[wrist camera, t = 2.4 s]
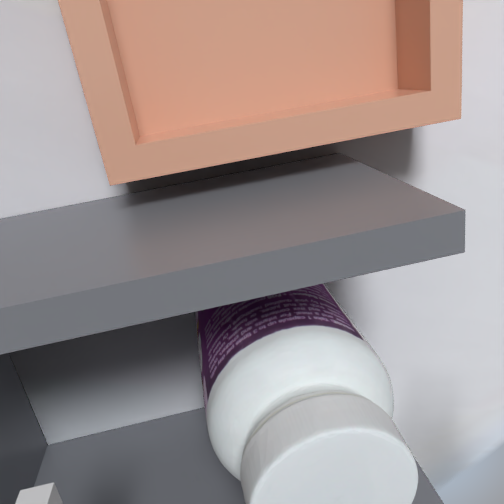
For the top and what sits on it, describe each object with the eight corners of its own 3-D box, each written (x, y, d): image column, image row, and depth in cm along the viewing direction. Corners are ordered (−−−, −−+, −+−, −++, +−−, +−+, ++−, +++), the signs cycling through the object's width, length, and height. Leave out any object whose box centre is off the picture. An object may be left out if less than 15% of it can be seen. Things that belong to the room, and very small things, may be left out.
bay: (31, 468, 20) (-49, 695, 13) (-76, 233, 16) (-287, 368, 9) (360, 387, 22) (459, 551, 14) (340, 153, 17) (465, 209, 10)
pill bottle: (165, 308, 18) (160, 524, 10) (259, 215, 18) (349, 354, 9) (257, 379, 20) (325, 614, 12) (346, 297, 20) (490, 480, 11)
